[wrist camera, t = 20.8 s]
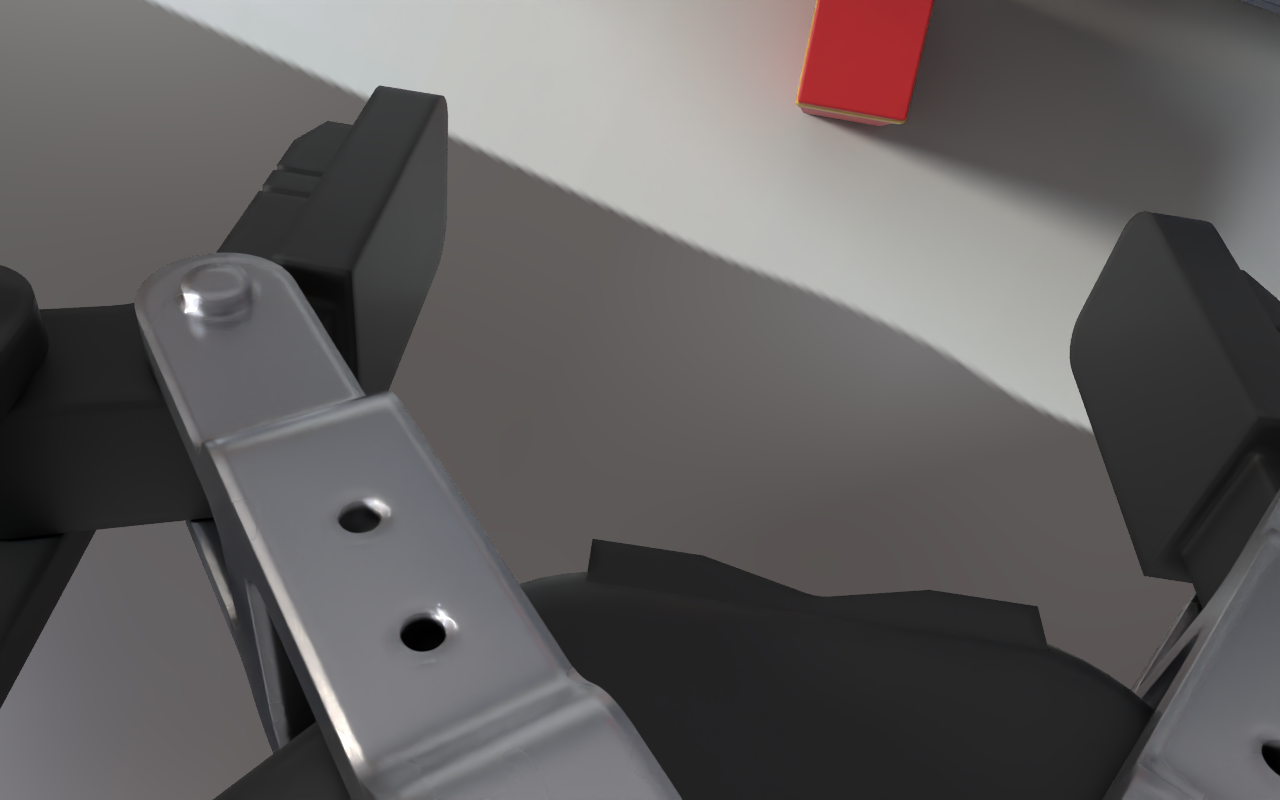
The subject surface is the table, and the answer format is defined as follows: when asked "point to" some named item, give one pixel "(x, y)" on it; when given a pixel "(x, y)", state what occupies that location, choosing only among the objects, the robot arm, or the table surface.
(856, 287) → the table surface
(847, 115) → the red box
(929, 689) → the robot arm
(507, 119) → the table surface
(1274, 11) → the tray
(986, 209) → the table surface
